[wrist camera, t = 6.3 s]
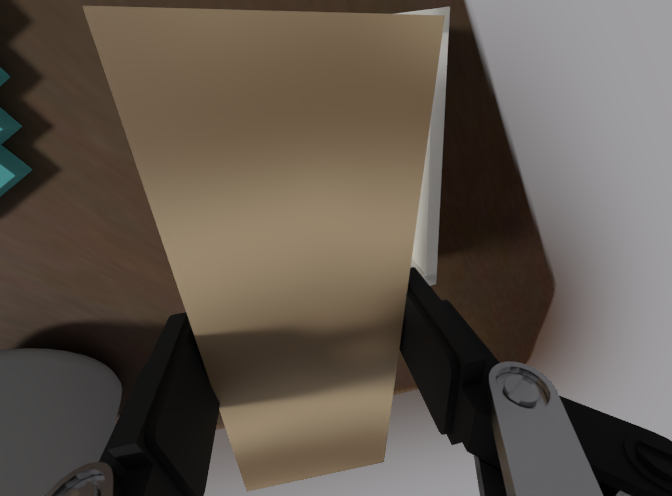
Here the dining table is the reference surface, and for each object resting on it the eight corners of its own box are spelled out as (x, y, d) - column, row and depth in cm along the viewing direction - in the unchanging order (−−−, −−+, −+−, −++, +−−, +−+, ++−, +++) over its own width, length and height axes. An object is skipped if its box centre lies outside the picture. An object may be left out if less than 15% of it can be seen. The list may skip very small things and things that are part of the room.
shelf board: (165, 39, 8) (81, 5, 4) (378, 42, 9) (444, 15, 5) (253, 402, 16) (247, 491, 12) (361, 383, 17) (383, 462, 13)
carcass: (166, 58, 21) (130, 48, 15) (409, 25, 22) (449, 6, 17) (247, 287, 31) (241, 327, 26) (410, 252, 32) (436, 284, 27)
